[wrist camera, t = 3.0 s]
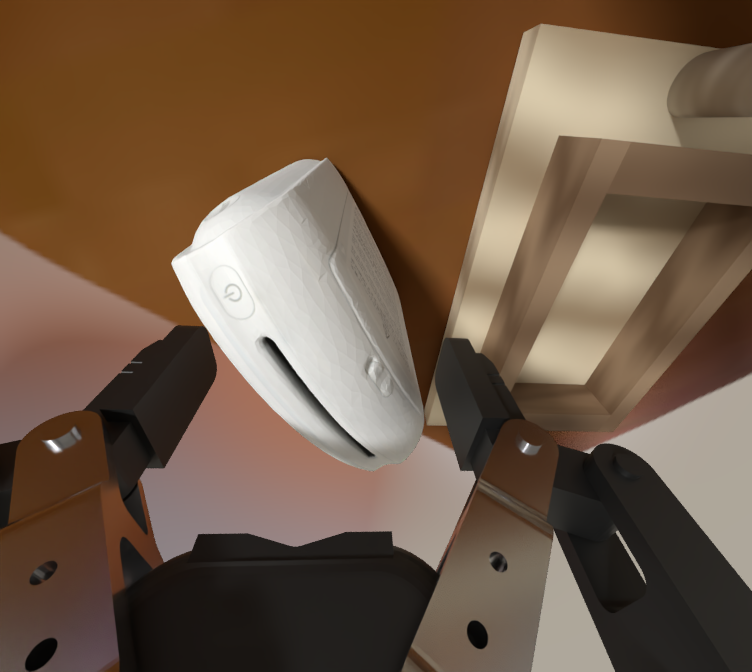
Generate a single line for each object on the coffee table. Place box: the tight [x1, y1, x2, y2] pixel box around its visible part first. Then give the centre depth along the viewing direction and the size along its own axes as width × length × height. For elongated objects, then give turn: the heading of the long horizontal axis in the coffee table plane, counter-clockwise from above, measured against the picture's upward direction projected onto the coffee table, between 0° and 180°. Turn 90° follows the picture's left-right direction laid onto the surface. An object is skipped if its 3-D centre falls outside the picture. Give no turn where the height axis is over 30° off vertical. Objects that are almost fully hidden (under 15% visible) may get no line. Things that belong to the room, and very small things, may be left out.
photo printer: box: [172, 158, 424, 471], centre depth 13 cm, size 10×4×12 cm, turn 25°
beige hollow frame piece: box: [424, 24, 752, 432], centre depth 15 cm, size 24×15×14 cm, turn 175°
